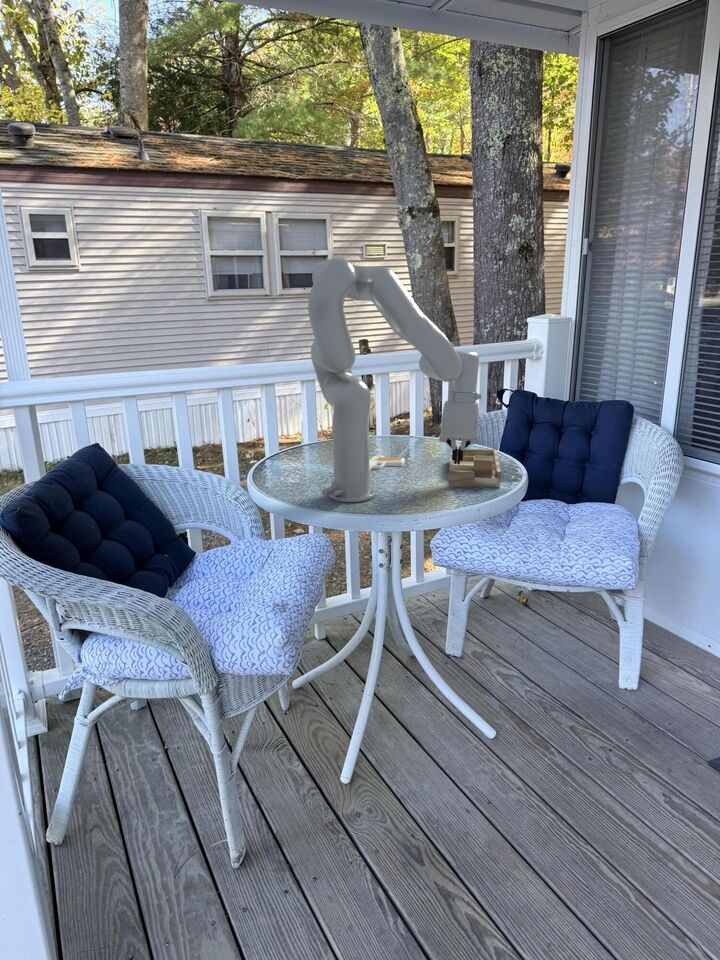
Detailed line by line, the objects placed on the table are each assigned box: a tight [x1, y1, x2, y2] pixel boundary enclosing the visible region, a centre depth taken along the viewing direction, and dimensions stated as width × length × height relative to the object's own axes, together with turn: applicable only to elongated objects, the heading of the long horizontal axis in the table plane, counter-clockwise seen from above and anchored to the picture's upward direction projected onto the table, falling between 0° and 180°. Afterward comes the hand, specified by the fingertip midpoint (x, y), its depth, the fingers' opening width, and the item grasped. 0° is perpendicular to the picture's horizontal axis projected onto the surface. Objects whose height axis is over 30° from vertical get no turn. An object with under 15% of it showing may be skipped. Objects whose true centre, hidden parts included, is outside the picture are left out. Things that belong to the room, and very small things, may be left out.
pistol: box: [369, 454, 406, 471], centre depth 195 cm, size 2×20×11 cm
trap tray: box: [448, 448, 502, 488], centre depth 187 cm, size 26×14×4 cm, turn 171°
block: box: [473, 455, 493, 478], centre depth 177 cm, size 5×5×5 cm
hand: (456, 463), depth 177 cm, fingers closed
